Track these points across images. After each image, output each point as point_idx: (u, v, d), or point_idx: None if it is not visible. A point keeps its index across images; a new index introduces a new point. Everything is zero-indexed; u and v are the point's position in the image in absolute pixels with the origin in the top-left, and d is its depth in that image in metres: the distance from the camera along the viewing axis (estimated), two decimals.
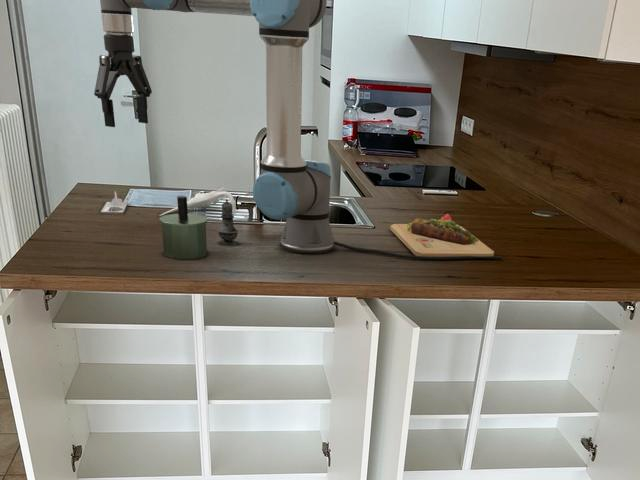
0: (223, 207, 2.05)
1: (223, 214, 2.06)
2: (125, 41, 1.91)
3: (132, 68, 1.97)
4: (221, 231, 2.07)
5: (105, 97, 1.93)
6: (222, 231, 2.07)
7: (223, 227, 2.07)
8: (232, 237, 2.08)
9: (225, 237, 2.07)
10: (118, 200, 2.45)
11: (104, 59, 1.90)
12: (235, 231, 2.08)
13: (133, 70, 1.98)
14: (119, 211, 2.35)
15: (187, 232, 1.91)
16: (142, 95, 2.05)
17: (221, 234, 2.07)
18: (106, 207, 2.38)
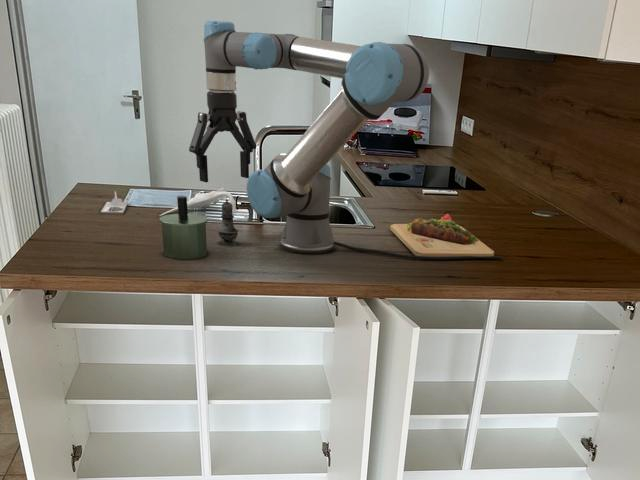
0: (223, 207, 2.05)
1: (223, 214, 2.06)
2: (224, 99, 1.89)
3: (233, 124, 1.95)
4: (221, 231, 2.07)
5: (199, 153, 1.93)
6: (222, 231, 2.07)
7: (223, 227, 2.07)
8: (232, 237, 2.08)
9: (225, 237, 2.07)
10: (118, 200, 2.45)
11: (201, 116, 1.89)
12: (235, 231, 2.08)
13: (234, 126, 1.96)
14: (119, 211, 2.35)
15: (187, 232, 1.91)
16: (245, 150, 2.03)
17: (221, 234, 2.07)
18: (106, 207, 2.38)
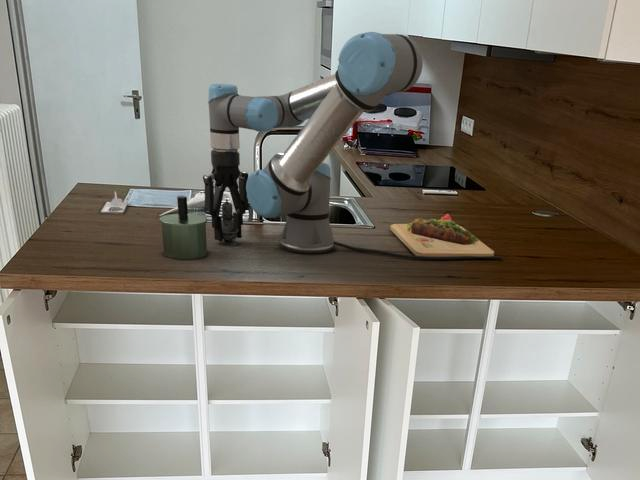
0: (223, 207, 2.05)
1: (223, 214, 2.06)
2: (228, 158, 1.96)
3: (236, 180, 2.02)
4: None
5: (215, 216, 2.03)
6: (222, 231, 2.07)
7: (223, 227, 2.07)
8: (232, 237, 2.08)
9: (225, 237, 2.07)
10: (118, 200, 2.45)
11: (207, 180, 1.97)
12: (235, 231, 2.08)
13: (235, 184, 2.03)
14: (119, 211, 2.35)
15: (187, 232, 1.91)
16: (238, 211, 2.08)
17: None
18: (106, 207, 2.38)
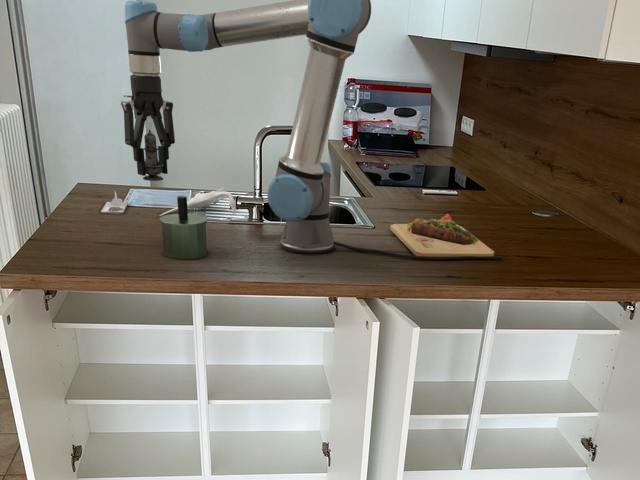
0: (145, 138, 1.92)
1: (146, 146, 1.93)
2: (147, 82, 1.83)
3: (159, 109, 1.89)
4: None
5: (136, 147, 1.90)
6: (145, 165, 1.94)
7: (146, 160, 1.94)
8: (156, 171, 1.95)
9: (149, 171, 1.94)
10: (118, 200, 2.45)
11: (125, 107, 1.84)
12: (159, 165, 1.95)
13: (158, 113, 1.89)
14: (119, 211, 2.35)
15: (187, 232, 1.91)
16: (163, 144, 1.95)
17: None
18: (106, 207, 2.38)
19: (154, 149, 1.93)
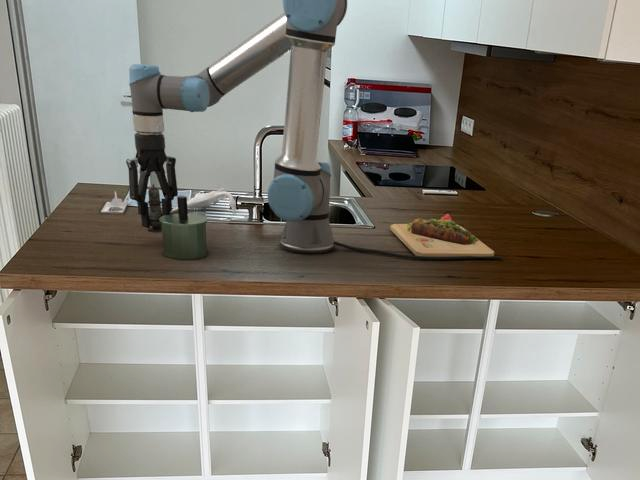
0: (149, 192, 1.98)
1: (150, 200, 1.99)
2: (151, 141, 1.90)
3: (162, 165, 1.96)
4: None
5: (140, 201, 1.97)
6: (149, 217, 2.01)
7: (150, 213, 2.01)
8: (160, 224, 2.02)
9: (153, 223, 2.01)
10: (118, 200, 2.45)
11: (130, 164, 1.91)
12: None
13: (161, 168, 1.96)
14: (119, 211, 2.35)
15: (187, 232, 1.91)
16: (166, 197, 2.02)
17: None
18: (106, 207, 2.38)
19: (158, 202, 2.00)
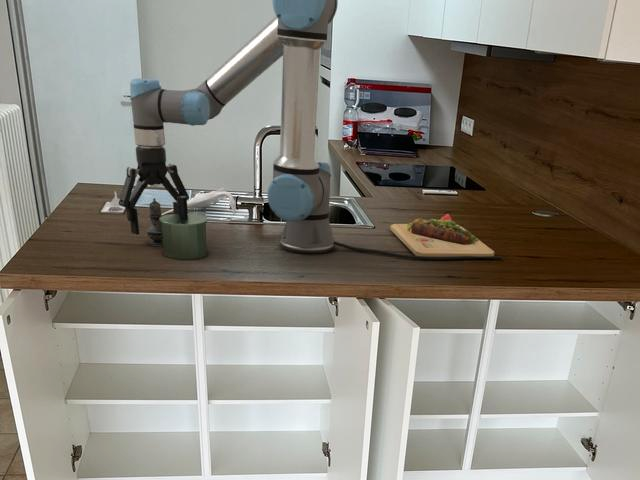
0: (150, 206, 2.00)
1: (151, 214, 2.01)
2: (152, 154, 1.91)
3: (163, 178, 1.98)
4: (149, 231, 2.02)
5: (128, 207, 1.95)
6: (150, 231, 2.02)
7: (151, 227, 2.03)
8: (161, 237, 2.04)
9: (154, 237, 2.03)
10: (118, 200, 2.45)
11: (130, 171, 1.92)
12: None
13: (165, 179, 1.98)
14: (119, 211, 2.35)
15: (187, 232, 1.91)
16: None
17: (149, 234, 2.03)
18: (106, 207, 2.38)
19: (159, 216, 2.02)
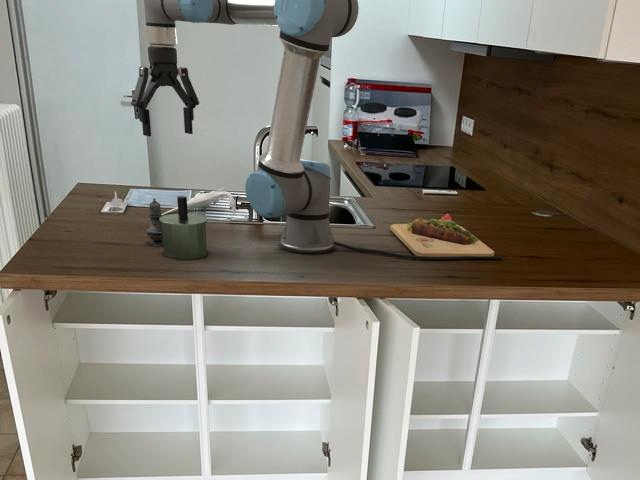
0: (150, 206, 2.00)
1: (151, 214, 2.01)
2: (165, 53, 1.94)
3: (175, 79, 2.00)
4: (149, 231, 2.02)
5: (141, 107, 1.97)
6: (150, 231, 2.02)
7: (151, 227, 2.03)
8: (161, 237, 2.04)
9: (154, 237, 2.03)
10: (118, 200, 2.45)
11: (142, 70, 1.94)
12: None
13: (176, 81, 2.01)
14: (119, 211, 2.35)
15: (187, 232, 1.91)
16: (188, 106, 2.08)
17: (149, 234, 2.03)
18: (106, 207, 2.38)
19: (159, 216, 2.02)
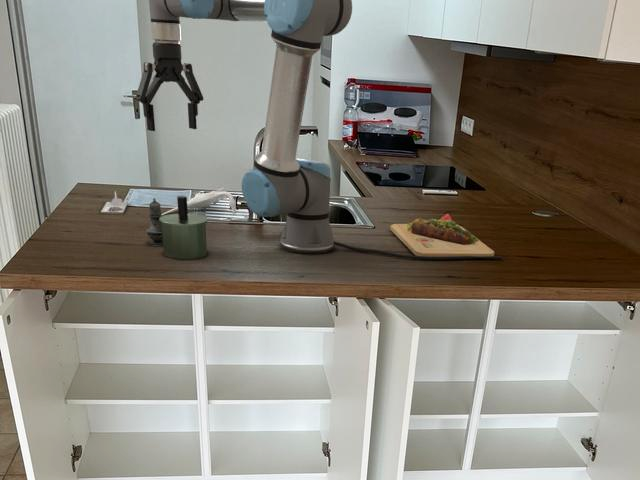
0: (150, 206, 2.00)
1: (151, 214, 2.01)
2: (169, 49, 1.96)
3: (179, 75, 2.03)
4: (149, 231, 2.02)
5: (145, 102, 2.00)
6: (150, 231, 2.02)
7: (151, 227, 2.03)
8: (161, 237, 2.04)
9: (154, 237, 2.03)
10: (118, 200, 2.45)
11: (147, 66, 1.97)
12: None
13: (180, 77, 2.03)
14: (119, 211, 2.35)
15: (187, 232, 1.91)
16: (192, 102, 2.10)
17: (149, 234, 2.03)
18: (106, 207, 2.38)
19: (159, 216, 2.02)
